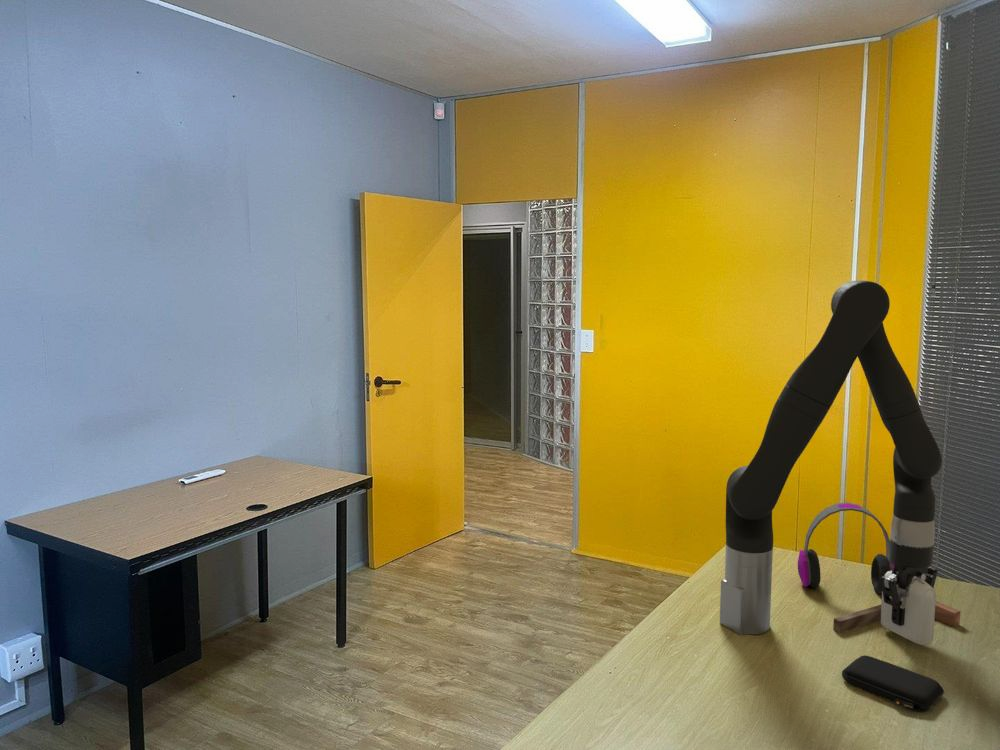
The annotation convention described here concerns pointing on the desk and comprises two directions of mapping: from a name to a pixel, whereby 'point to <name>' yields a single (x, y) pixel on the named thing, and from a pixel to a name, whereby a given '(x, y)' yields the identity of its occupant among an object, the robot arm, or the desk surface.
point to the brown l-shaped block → (874, 614)
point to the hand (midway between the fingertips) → (906, 621)
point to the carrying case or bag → (893, 683)
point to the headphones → (810, 561)
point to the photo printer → (913, 613)
